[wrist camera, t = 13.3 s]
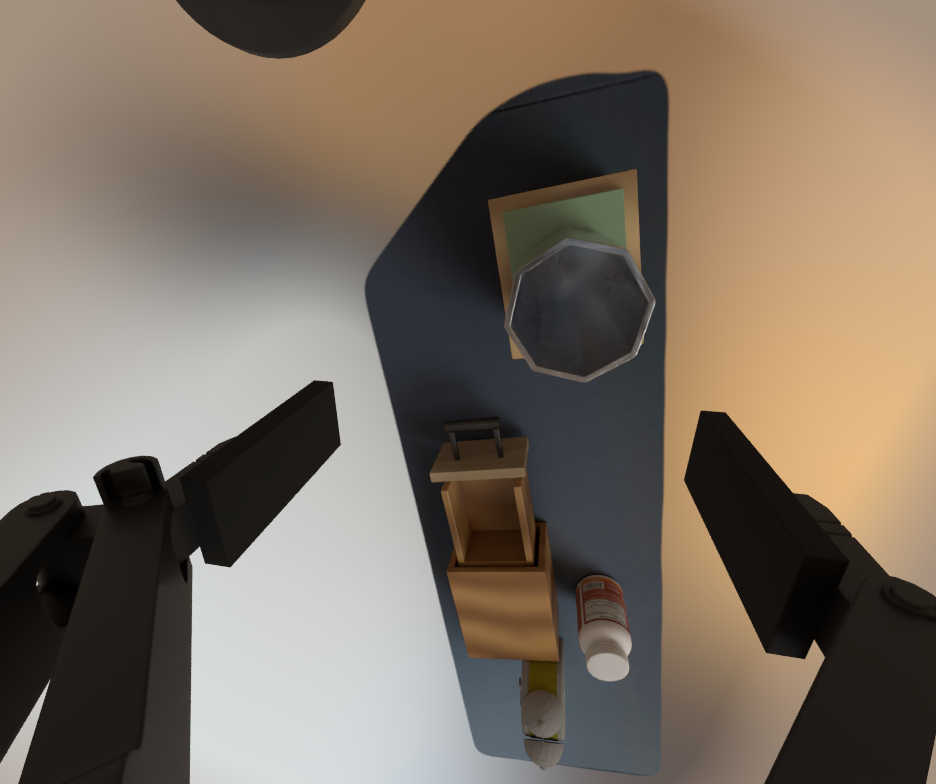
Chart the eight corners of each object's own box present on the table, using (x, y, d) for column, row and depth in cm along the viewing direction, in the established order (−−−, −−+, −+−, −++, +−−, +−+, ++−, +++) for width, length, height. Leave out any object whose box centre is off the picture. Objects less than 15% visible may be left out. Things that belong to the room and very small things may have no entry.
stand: (505, 201, 42) (487, 200, 31) (612, 179, 40) (636, 168, 28) (522, 320, 47) (512, 359, 35) (620, 307, 44) (643, 343, 33)
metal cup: (507, 263, 31) (482, 293, 21) (587, 208, 29) (606, 211, 18) (552, 336, 33) (551, 400, 22) (632, 289, 31) (675, 336, 20)
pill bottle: (604, 613, 61) (614, 693, 51) (566, 592, 61) (569, 669, 50) (632, 587, 58) (648, 666, 48) (592, 565, 58) (600, 640, 48)
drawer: (435, 407, 52) (419, 434, 46) (521, 399, 49) (517, 426, 43) (463, 530, 58) (453, 568, 52) (541, 528, 56) (540, 567, 50)
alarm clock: (563, 664, 66) (566, 782, 53) (518, 659, 68) (509, 773, 54) (562, 608, 62) (565, 721, 48) (514, 604, 63) (504, 713, 50)
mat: (503, 212, 31) (502, 212, 30) (621, 188, 29) (623, 187, 28) (523, 346, 34) (522, 349, 34) (629, 332, 33) (631, 335, 32)
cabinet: (460, 524, 59) (446, 572, 51) (546, 521, 56) (544, 571, 49) (479, 603, 64) (468, 657, 57) (558, 604, 62) (559, 661, 54)
